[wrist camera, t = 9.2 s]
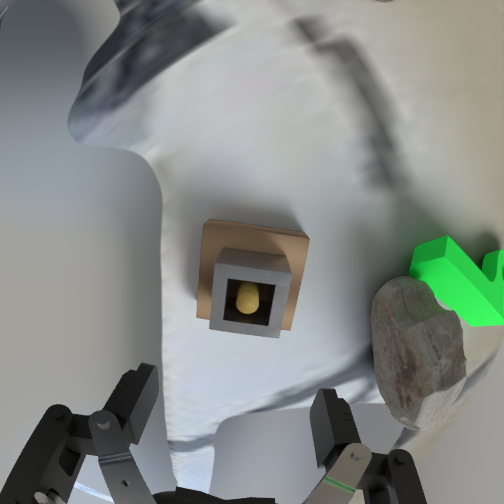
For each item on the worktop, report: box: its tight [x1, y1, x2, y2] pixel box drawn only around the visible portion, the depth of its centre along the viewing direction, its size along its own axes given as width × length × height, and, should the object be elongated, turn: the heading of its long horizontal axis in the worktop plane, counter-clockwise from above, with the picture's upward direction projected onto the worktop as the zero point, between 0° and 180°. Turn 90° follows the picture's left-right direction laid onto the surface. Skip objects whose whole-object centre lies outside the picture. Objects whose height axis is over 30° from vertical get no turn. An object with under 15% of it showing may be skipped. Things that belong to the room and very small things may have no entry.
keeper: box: [196, 219, 310, 331], centre depth 26 cm, size 10×10×8 cm
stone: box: [370, 276, 467, 431], centre depth 24 cm, size 19×7×15 cm, turn 13°
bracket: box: [409, 235, 504, 326], centre depth 27 cm, size 20×10×7 cm, turn 60°
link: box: [209, 247, 292, 338], centre depth 24 cm, size 6×6×5 cm
